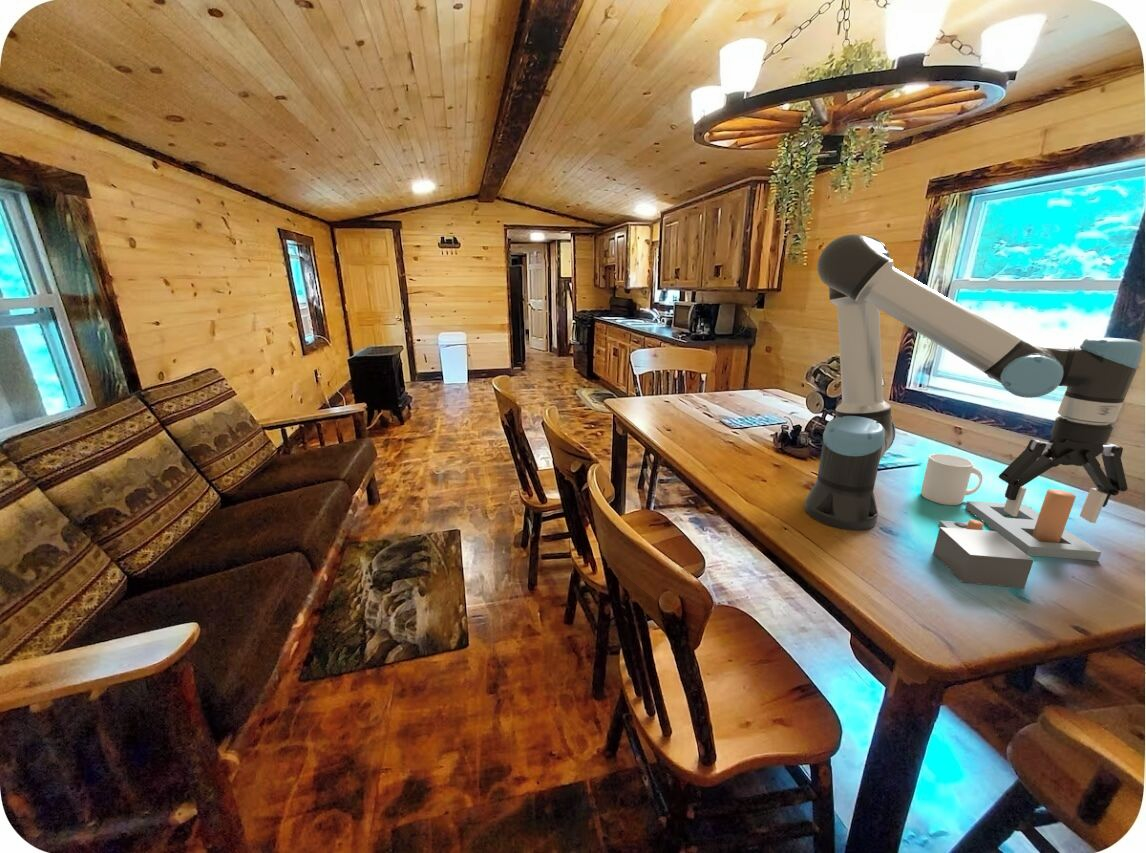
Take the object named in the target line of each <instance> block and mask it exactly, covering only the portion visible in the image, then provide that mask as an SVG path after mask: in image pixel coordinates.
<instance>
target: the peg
mask: <svg viewBox="0 0 1146 853" xmlns="http://www.w3.org/2000/svg"><path fill="white" fill-rule="evenodd" d="M1076 498H1077V495H1075V494H1074V493H1072V492H1069V491H1066V490H1062V489H1056V488H1048V489H1047V490H1046V493H1045V496H1044V499H1043V502H1042V505H1041V508H1040V511H1039V512H1038V513H1039V516H1038V519H1037V522H1036V525H1035V528H1034V531H1033V534H1032V537H1034V538H1035V539H1037V540H1038V541H1039V542H1049V543H1059V542H1060V539H1061V537H1062V534H1063V531H1064V529H1065V528H1066V525H1067V522H1068V521H1069V520H1068V519H1069V517H1070V514H1071V512H1072V509H1073V506H1074V503H1075V500H1076Z"/></svg>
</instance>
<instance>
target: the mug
mask: <svg viewBox="0 0 1146 853" xmlns="http://www.w3.org/2000/svg"><path fill="white" fill-rule="evenodd" d="M925 467H926V468H925V472H924V476H923V480H922V485H921V487H920V488H921V489H920V493H921V496H922V497H923V498H925V499H926V500H928V501H931V502H932V503H933V502H934V503H936V504H938V505H939V504H940V505H944V506H958V505H960V504H962V503H963V502H964V500H965V497H966V496H969V495H973V494H974V493H976V492H977V491H978V490H979V488H980V487H981V485H982V482H983V474H982V473H981V471H980V470H979V469H977V468H976V467H974V463H973V461H971V460H969V459H967V458H964V457H961V456H957V455H953V454H946V453H945V454H944V453H933V454H929V456H928V460H927V463H926V466H925ZM971 474H974V475H975V476H977V477H978V479H979V480H978V481H979V482H978V484H977V486H975V487H974V488H971V489H969V488H968V484H969V481H970V478H971Z"/></svg>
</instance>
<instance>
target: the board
mask: <svg viewBox="0 0 1146 853" xmlns="http://www.w3.org/2000/svg"><path fill="white" fill-rule="evenodd" d="M938 526H940V527H945V528H958V529H972V530H984V529H983V527H984V522H983V521H981V520H976V519H969V520H968V521H967V522H965V521H962V522H961V521H951V520H949V521H948V520H939V522H938Z"/></svg>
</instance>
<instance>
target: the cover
mask: <svg viewBox="0 0 1146 853" xmlns="http://www.w3.org/2000/svg"><path fill="white" fill-rule="evenodd" d="M934 544H935V545H934V547H933V548H934V549H933V554H934V555H935V557H937V558H938V559H939V560H940V561H941V562H942V563H943V564H944V565H945V566H946V567H947V566H948V567H947V568H948V569H949V568H950V569H949V571H950V572H952V573H953V575H954V576H956V578H958V580H961V581H962V582H961V581H960V582H961V583H965V582H966V583H967V584H976V585H977V584H978V585H988V586H996V587H997V586H998V587H1008V588H1018V589H1019V588H1020V589H1025V586H1026V585H1027V581H1028V579H1029V575H1030V572H1031V570H1032V567H1033V563H1034V561H1035V560H1034V559H1033V558H1032V557H1030V555H1026V554H1025V553H1024V552H1023V551H1021V550H1020V549H1019V548H1017V547H1016V546H1015V545H1013V544H1012V543H1011V542H1009V541H1008V540H1007V539H1005V538H1004V537H1003V536H1002V535H1000V534H999V533H998V532H996V531H995V530H985V529H983V530H972V529H958V528H945V527H941V526H940V527H939V529H938V532H937V537H936V540H935V543H934Z"/></svg>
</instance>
